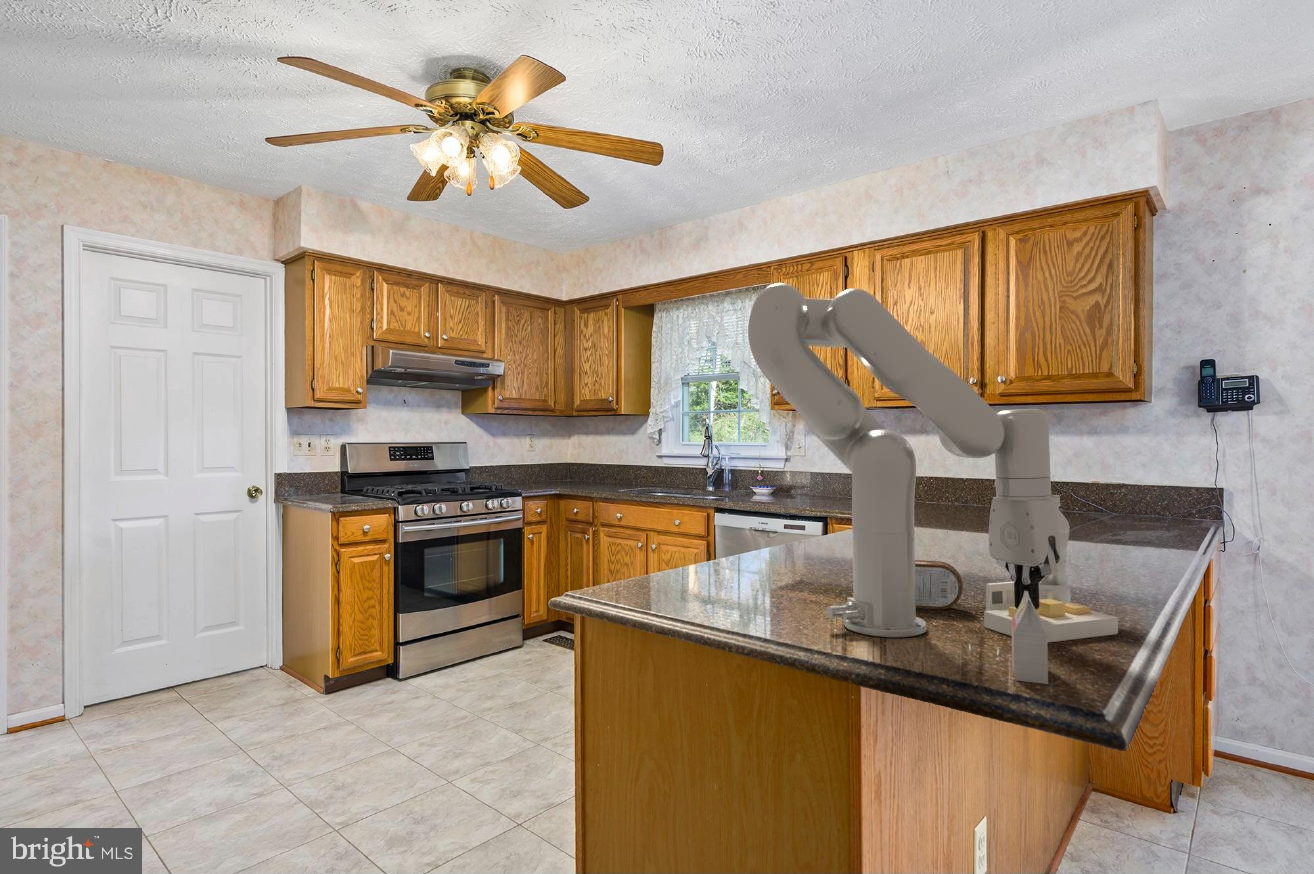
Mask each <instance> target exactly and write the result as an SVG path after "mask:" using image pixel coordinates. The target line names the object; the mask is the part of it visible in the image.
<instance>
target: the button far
mask: <svg viewBox="0 0 1314 874" xmlns="http://www.w3.org/2000/svg"><path fill="white" fill-rule="evenodd" d="M1090 610H1091V606H1089V605H1085V604H1080V603H1076V602H1070V603H1066V604H1065V613H1069V614H1073V615H1082V614H1090Z"/></svg>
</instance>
